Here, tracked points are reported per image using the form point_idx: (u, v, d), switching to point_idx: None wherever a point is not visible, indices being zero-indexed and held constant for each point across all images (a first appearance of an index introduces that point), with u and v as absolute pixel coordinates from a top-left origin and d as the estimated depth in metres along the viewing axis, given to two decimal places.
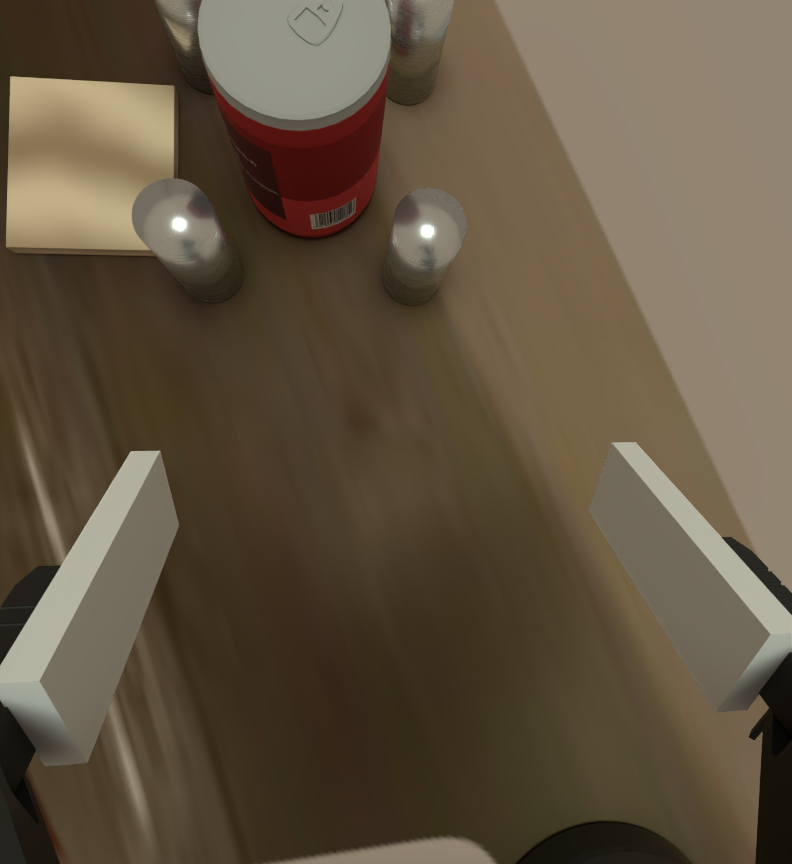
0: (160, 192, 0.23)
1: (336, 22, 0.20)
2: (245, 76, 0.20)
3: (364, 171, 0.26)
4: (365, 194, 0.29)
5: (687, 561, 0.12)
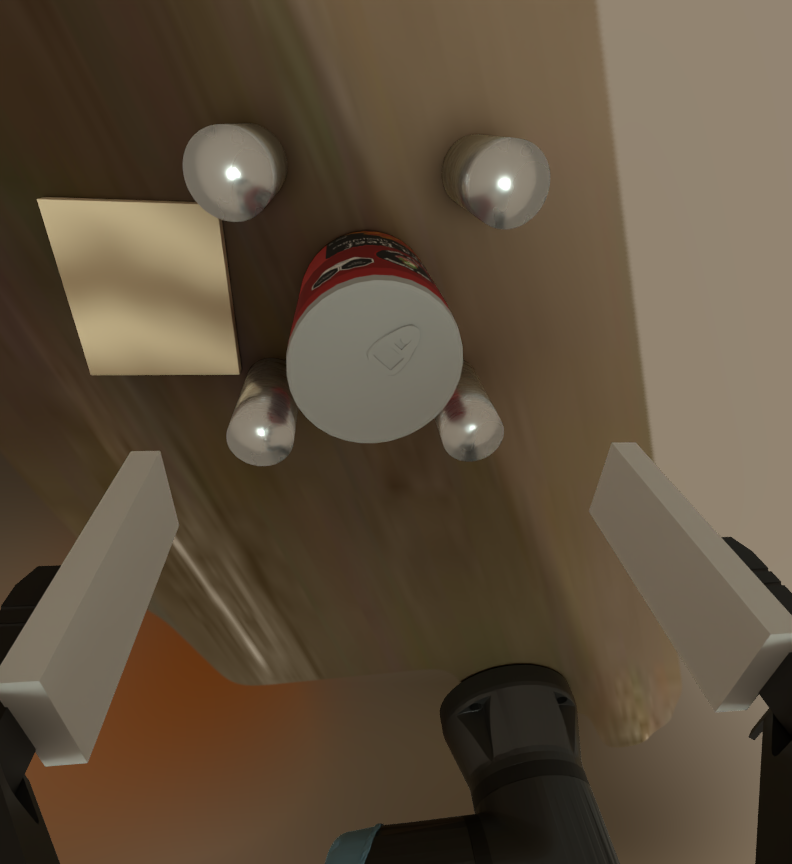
0: (247, 422, 0.27)
1: (412, 354, 0.22)
2: (330, 407, 0.23)
3: None
4: None
5: (687, 561, 0.12)
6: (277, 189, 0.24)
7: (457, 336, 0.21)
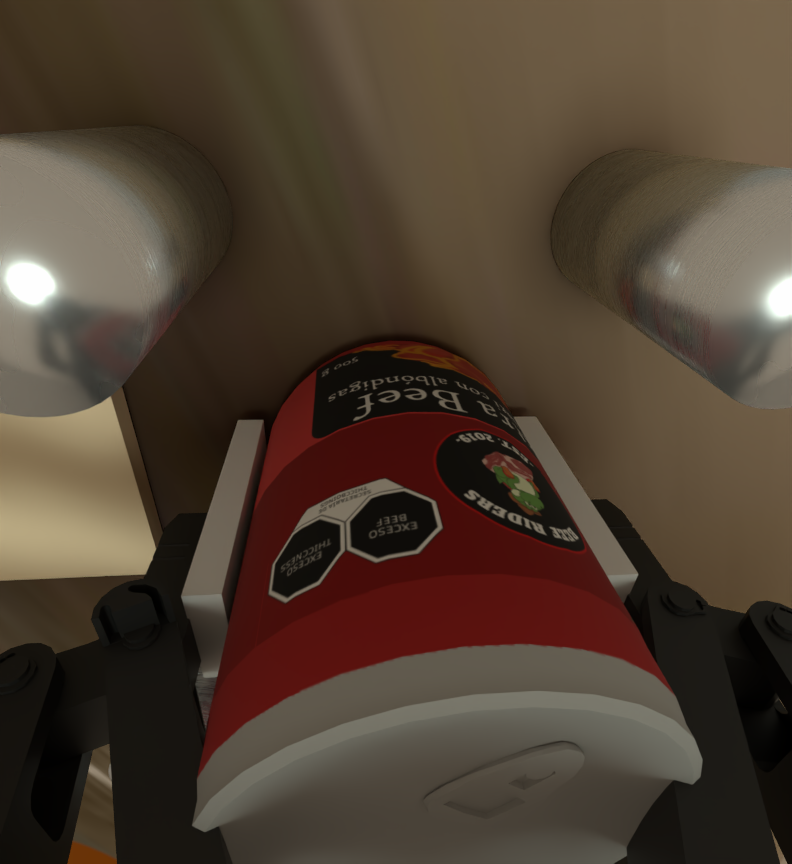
0: None
1: (552, 789, 0.08)
2: None
3: None
4: None
5: None
6: (192, 290, 0.10)
7: (696, 772, 0.07)
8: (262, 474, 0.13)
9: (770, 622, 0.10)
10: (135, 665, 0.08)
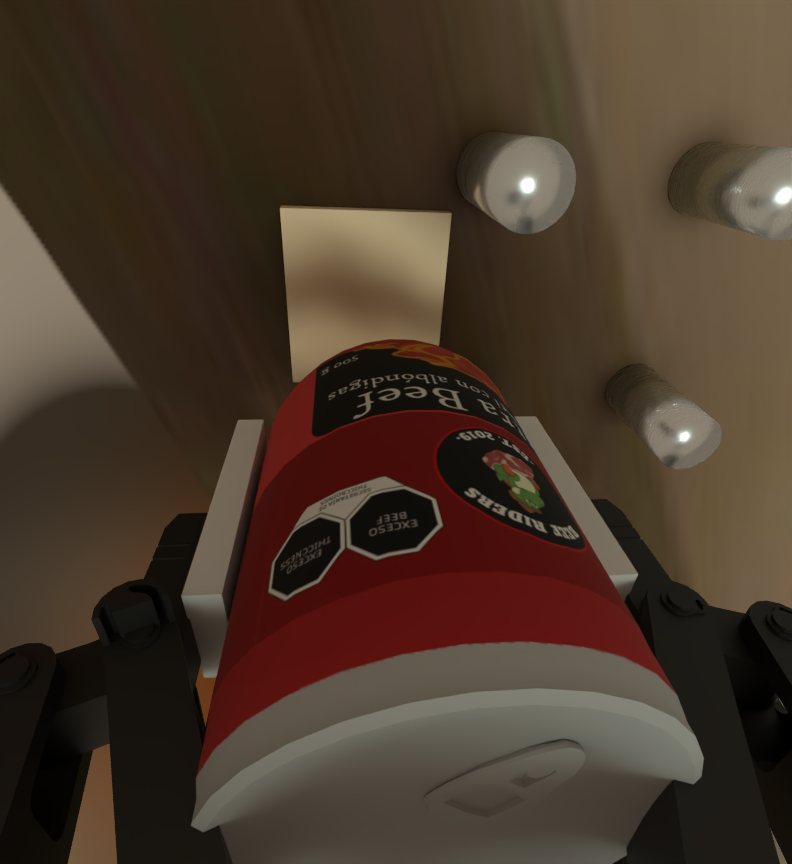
0: None
1: (553, 788, 0.08)
2: None
3: None
4: None
5: None
6: None
7: (697, 770, 0.07)
8: (262, 472, 0.13)
9: (770, 622, 0.10)
10: (135, 665, 0.08)
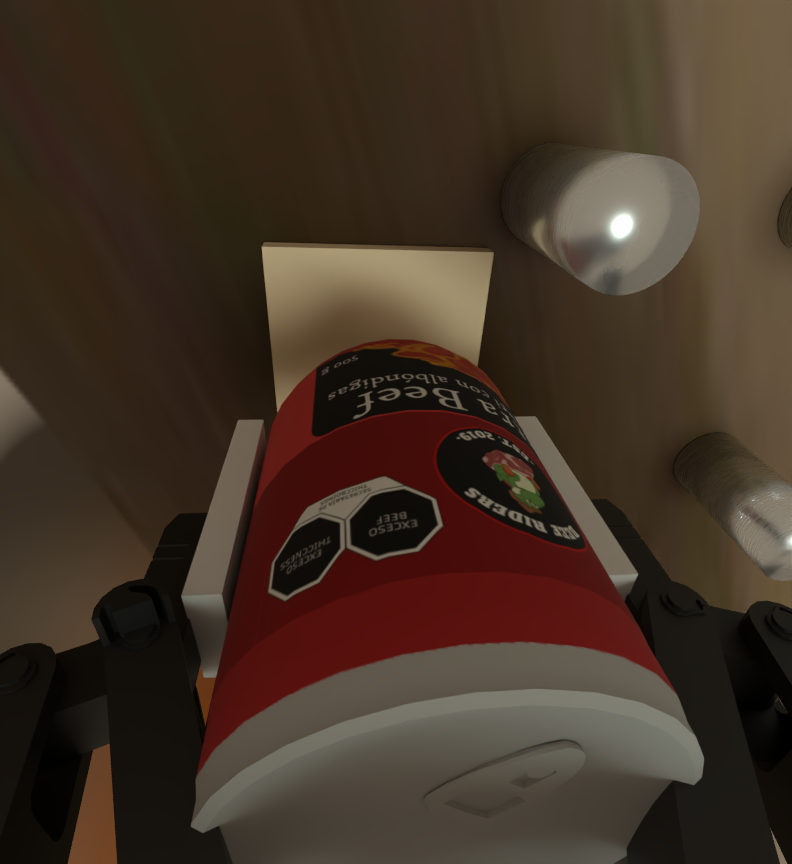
0: None
1: (552, 788, 0.08)
2: None
3: None
4: None
5: None
6: None
7: (697, 770, 0.07)
8: (262, 472, 0.13)
9: (770, 622, 0.10)
10: (135, 665, 0.08)
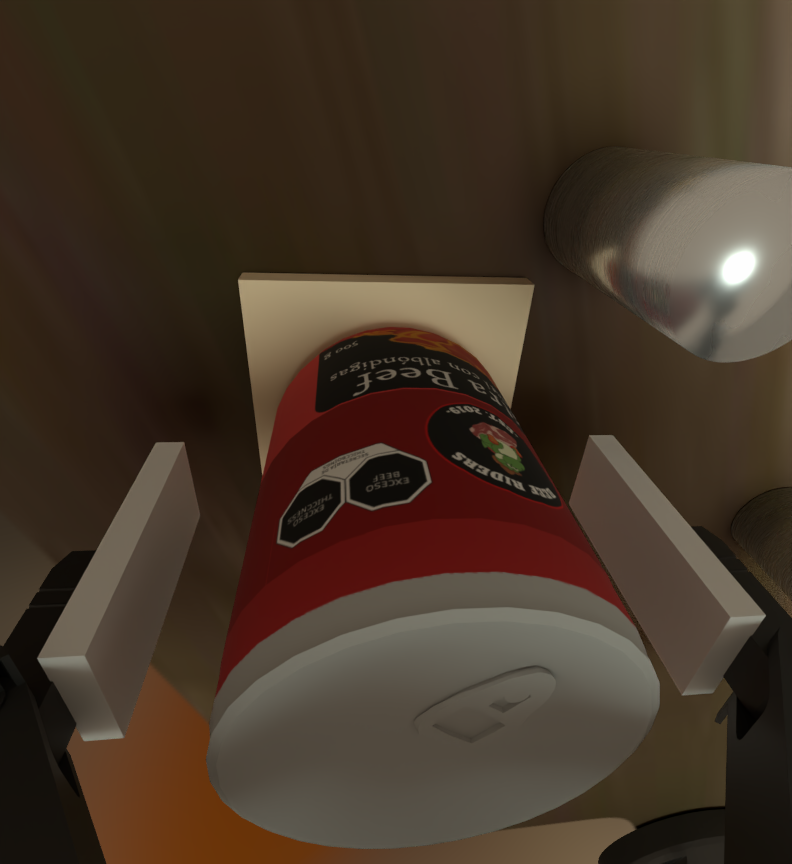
0: None
1: (529, 714, 0.09)
2: (322, 802, 0.10)
3: None
4: None
5: (656, 549, 0.12)
6: None
7: (654, 694, 0.08)
8: (269, 449, 0.14)
9: None
10: None
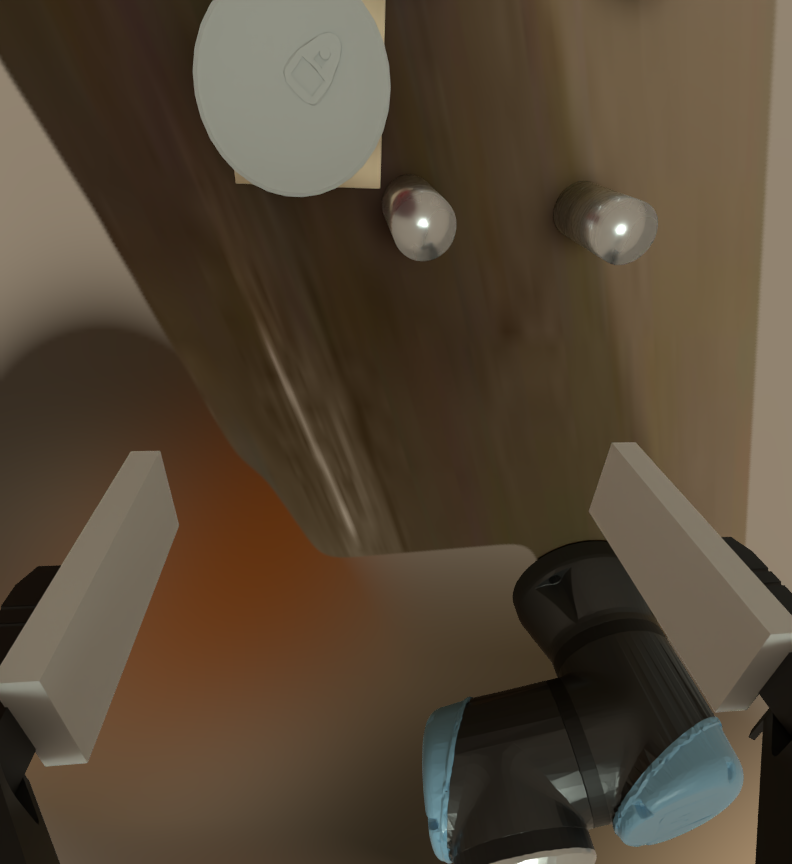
0: (416, 206, 0.27)
1: (334, 75, 0.20)
2: (248, 146, 0.21)
3: None
4: None
5: (687, 561, 0.12)
6: None
7: (382, 48, 0.19)
8: None
9: None
10: None
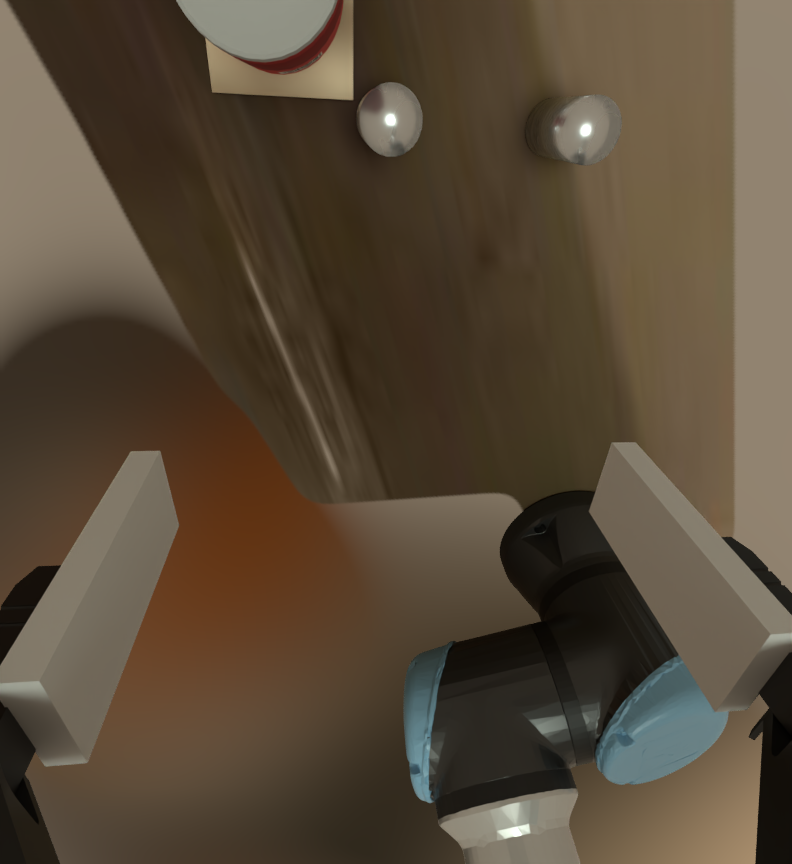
0: (382, 97, 0.28)
1: None
2: (209, 4, 0.22)
3: (327, 39, 0.27)
4: (331, 39, 0.29)
5: (687, 561, 0.12)
6: None
7: None
8: None
9: None
10: None
